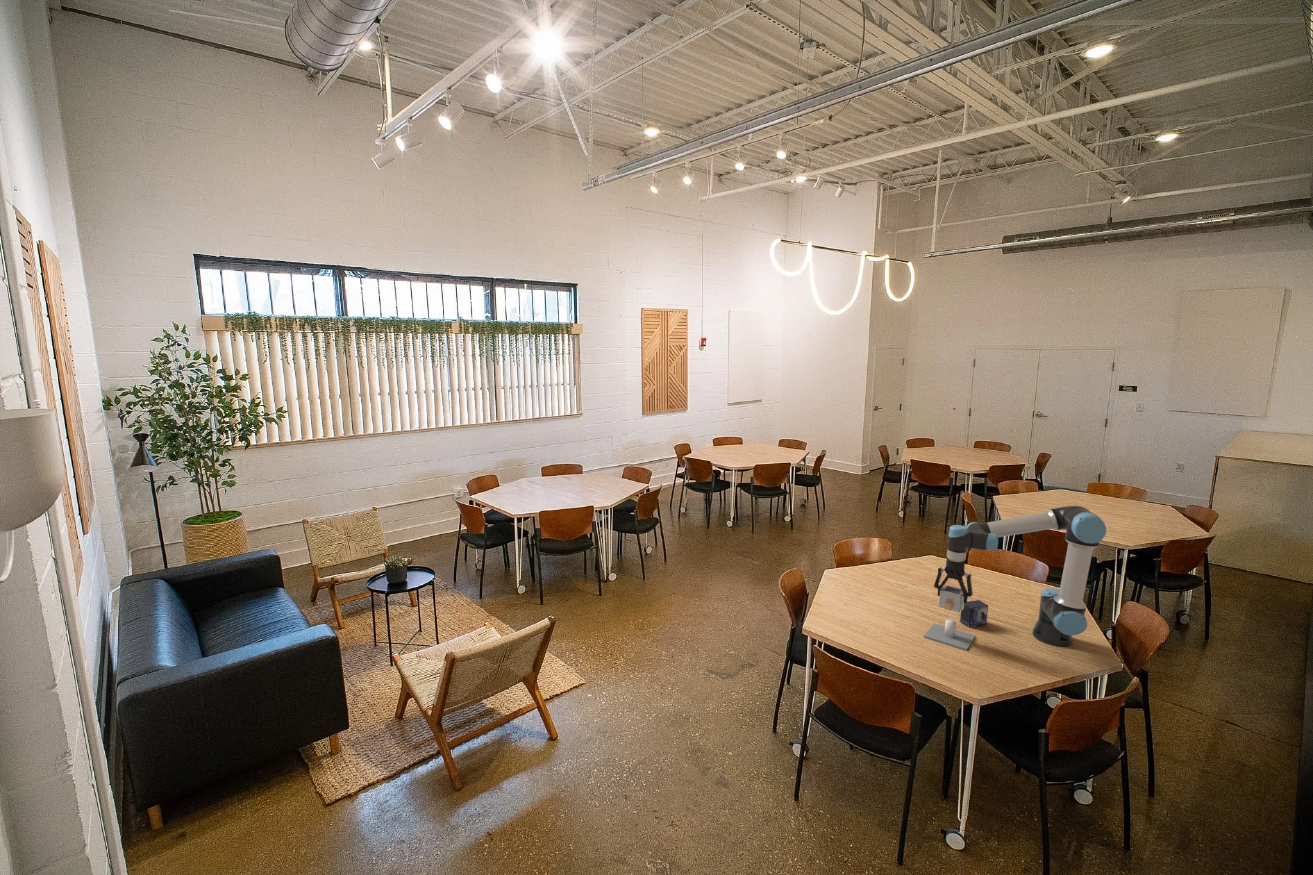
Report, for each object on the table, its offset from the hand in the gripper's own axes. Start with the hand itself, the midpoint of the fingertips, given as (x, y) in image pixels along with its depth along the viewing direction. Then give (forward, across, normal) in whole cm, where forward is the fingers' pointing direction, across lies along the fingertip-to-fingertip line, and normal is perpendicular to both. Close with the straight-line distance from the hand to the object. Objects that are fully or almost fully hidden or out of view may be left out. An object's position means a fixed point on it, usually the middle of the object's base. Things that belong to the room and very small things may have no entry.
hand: (951, 605), depth 264 cm
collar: (0, 0, +2) cm, 2 cm away
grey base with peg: (+15, 0, 0) cm, 15 cm away
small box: (+16, -5, -22) cm, 28 cm away
